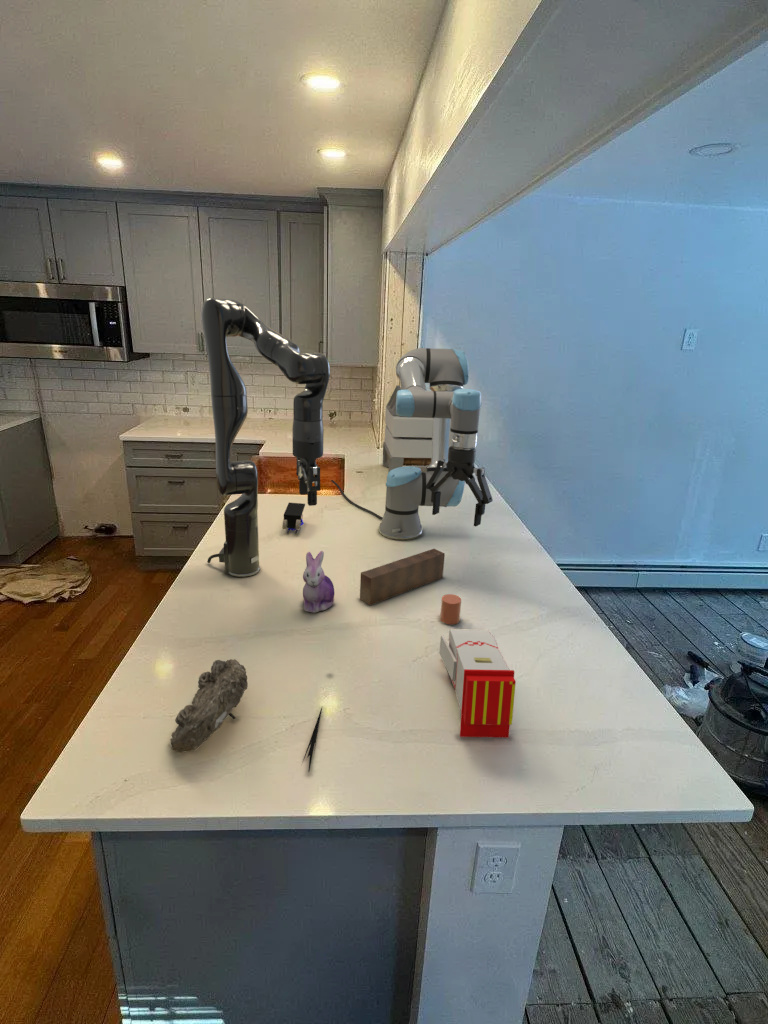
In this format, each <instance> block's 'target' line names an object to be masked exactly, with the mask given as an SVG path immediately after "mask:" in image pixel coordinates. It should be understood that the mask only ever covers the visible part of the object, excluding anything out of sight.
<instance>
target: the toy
mask: <svg viewBox="0 0 768 1024" xmlns="http://www.w3.org/2000/svg"><path fill="white" fill-rule="evenodd" d="M438 654H439V656H440V658H441V660H442V662H443V665H444V666H445V668H446V671H447V673H448V675H449V677H450V681H451V683H452V685H453V689H454V690H455V695H456V698H457V702H458V705H459V708H460V726H459V737H460V738H509V737H510V728H511V727H510V726H512V725H513V717H514V706H515V705H514V704H515V693H516V684H517V683H516V679H515V670H514V669H510V667H509V666H508V663H507V662H506V660H505V658H504V655H503V654H502V652H501V650H500V648H499V644H498V642H497V638H496V635H495V634H492V632H491V631H490V629H467V628H466V629H465V628H463V629H461V628H460V629H459V628H450V629H449V631H448V641H447V639H446V638H445V636H444V634H443V635H442V634H441V635H440V641H439V651H438Z"/></svg>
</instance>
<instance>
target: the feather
mask: <svg viewBox="0 0 768 1024" xmlns="http://www.w3.org/2000/svg"><path fill="white" fill-rule="evenodd" d="M329 675H330V676H331V675H332V674H331V673H330V674H329ZM322 710H323V707H321V708H320V710H319V713H318V716H317V719H316V723H315V725H314V728H313V731H312V733H311V737H310V739H309V742H308V745H307V748H306V751H305V754H304V757H303V760H302V763H301V767H302V765H303V763H304V761H305V758H308V759H309V760H308V762H307V763H308V764H307V766H308V771H310V770H311V766H312V765H311V764H312V760H313V757H315V756H314V755H315V751H316V749H315V746H317V739H318V733H319V729H320V722H321V717H322V712H323V711H322ZM313 754H314V755H313ZM306 755H307V757H306Z"/></svg>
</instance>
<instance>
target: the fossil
mask: <svg viewBox="0 0 768 1024" xmlns="http://www.w3.org/2000/svg"><path fill="white" fill-rule="evenodd" d="M197 683H198V684H197V687H198V690H197V691H196V693H195V694H194V697H193V698H192V701H191V704H187V705H185V706H184V707H183V708H182V709H181V710H179V712H178V713H177V715H176V717H175V719H174V721H175V723H176V725H177V726H176V728H175V730H174V731H173V732H172V733H171V735H170V736H171V738H170V747H171V750H172V751H176V752H178V753H186V752H190V751H193V752H195V751H197V750H198V749H199V748H200V747H201V746H202V745H203V744H204V743H205V742H207V741H208V740H209V739H210V737H211V736H212V735H213V734H215V733H216V731H218V730H219V729H220V728H221V726H222V725H223V723H224V721H225V720H226V719H227V718H228V717H230V718H232V720H235V719H236V716H235V715H234V714H233V713H232V710H233V709H235V708H237V706H238V705H239V704H240V702H241V700H242V698H243V696H244V693H245V691H246V690H247V689H248V686H249V685H248V675H247V669H246V668H245V666H244V665H243V664H241V663H240V661H238V660H237V659H236V658H234V659H232V658H230V659H226V660H221V659H216V660H214V661H213V662H212V665H211V667H210V671H208V670H207V671H205V672H201V674H200V675H199V676H198V681H197Z"/></svg>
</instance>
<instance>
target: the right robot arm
mask: <svg viewBox="0 0 768 1024" xmlns="http://www.w3.org/2000/svg"><path fill="white" fill-rule="evenodd" d="M469 367H470V366H469V360H468V355H467V354H466V352H465V351H464V350H462V349H455V348H429V347H418V348H414V349H412V350H410V351H407V352H406V353H404V354H403V355H402V356H401V357H400V358H399V359H398V361H397V362H396V366H395V375H396V378H397V380H398V381H399V385H400V387H401V390H399V391H398V392H397V395H396V414H397V415H398V416H404V417H408V418H409V417H423V418H433V430H432V458H431V463H430V464H429V465H428V466H426V472H424V471H422V469H421V468H420V467H419V466H406V465H404V466H403V467H398V468H395V469H392V470H391V471H390V472H389V471H388V473H387V475H386V482H385V487H386V488H385V489H386V490H385V504H384V505H385V507H384V508H385V509H384V513H383V515H382V516H381V515H379V514H378V513H376V512H373V511H372V510H370V509H367V508H365V507H363V506H361V505H359V504H357V503H355V502H354V501H352V500H351V499H350V498H348V496H347V495H346V494H345V493H344V491H343V489H341V487H340V485H339V484H338V483H337V482H336V481H335V480H333V479H331V480H330V482H331V483H332V484H334V485H335V486H336V487H337V489H338V491H339V492H340V493H341V495H342V497H343V498H344V499H345V500H346V501H348V503H350V504H351V505H353V506H354V507H357V508H358V509H360V510H361V511H362V510H363V511H364V512H367V513H369V514H371V515H373V516H375V517H376V518H378V519H379V520H381V522H379V526H378V533H379V534H380V535H381V536H382V537H385V538H387V539H389V540H395V541H410V540H415V539H418V538H420V537H421V536H422V535H423V525H422V524H421V518H420V515H419V507H432V511H431V514H432V516H435V515H438V514H440V509H441V508H442V507H444V508H447V507H451V508H453V507H454V508H455V507H457V506H459V504H460V503H461V501H462V499H463V495H464V491H465V484H466V485H467V486H468V488H469V489H470V491H471V492H472V495H473V497H474V498H475V500H476V501H477V503H475V508H474V519H473V527H476V528H477V527H478V526H479V525H481V523H482V516H483V515H485V512H486V505H488V504H491V503H492V502H493V500H494V499H493V496H492V493H491V490H490V487H489V484H488V481H487V478H486V468H485V467H483V466H482V467H475V462H476V455H477V449H476V447H477V445H478V433H479V425H480V424H479V423H480V417H481V415H480V414H481V407H482V393H481V391H479V390H477V389H472V388H464V386H465V385H467V384H468V383H469V375H470V370H469V369H470V368H469ZM426 384H429V390H427V387H426ZM474 475H475V476H476V478H475V476H474ZM476 480H477V481H476ZM477 482H478V483H477Z"/></svg>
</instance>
